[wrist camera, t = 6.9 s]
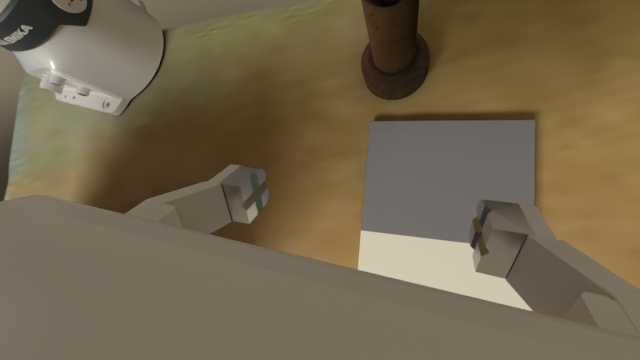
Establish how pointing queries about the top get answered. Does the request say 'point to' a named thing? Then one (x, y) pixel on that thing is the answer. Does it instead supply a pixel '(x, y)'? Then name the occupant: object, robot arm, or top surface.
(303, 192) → the top surface
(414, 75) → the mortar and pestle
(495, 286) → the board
